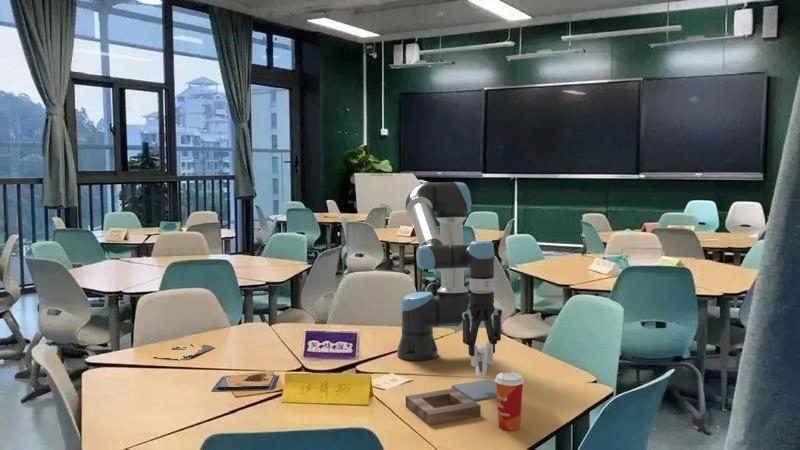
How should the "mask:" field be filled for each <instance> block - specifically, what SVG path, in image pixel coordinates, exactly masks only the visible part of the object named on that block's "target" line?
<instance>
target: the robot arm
mask: <svg viewBox="0 0 800 450" xmlns="http://www.w3.org/2000/svg"><path fill="white" fill-rule="evenodd" d="M471 196H472V195H471V192H470V190H469V187H468V185H467V184H466V183H464V182H460V181H459V182H458V181H445V182H444V181H443V182H442V181H441V182H427V181H426V182H423V183H421V184H418V185H416V186H415V187H414V188H412V189H411V191H410V192H409V194H408V196H407V198H406V200H405V211H406V213H407V215H408V216H409V218H411V221H412V225H413V228H414V231H415V235H416V238H417V242H418V245H419V246H417V248H416V254H415V256H416V257H415V259H416V265H417V267H418V269H420V270H440V287H439V288H438V289H437V290H436V291H437V292H436V293H437V295H434V294H433V293H432V292H431V291H418V292H417V291H416V292H412V293H408V294H407V295H405V296H403V298H402V299H401V306H400V311H401V337H400V340H399V344H398V346H397V351H396V353H397V354H396V355H397V357H398V358H399V359H401V360H402V359H403V360H405V361H411V362H412V361H417V362H419V361H420V362H421V361H422V362H423V361H429V360H433V359H436V358H437V357H438V356H439V355H438V346H437V344H436V340H435V338H434V330H433V329H434V328H443V327H444V328H445V327H447V328H448V327H456V328H457V327H461V326H462V344H465V345H467V346H468V356H470V365H471V366H472V367H474V368H475V367H477V346H478V345H476V342H477V338H478V337H477V336H478V332H479V328H480V325H481V322H484V327H485V331H486V335H487V338H488V339H487V340H488V341H487V342H486V344H485V345H486V346H485V347H487V348H488V349H489V350H488V358H487V365H491V366H493V365H494V354H495V353H496V344H497V343H498V342H500V341H501V339H502V323H501V322H502V321H501V320H502V319H501V318H502V314H503V310H502V309H500V308H496V307H495V306H494V305H495V292H494V290H495V253H496V252H495V247H494V243H493V242H492V241H489V240H473V241H471V242H470V243H465V244H464V228H463V227H464V225H463V224H464V221H466V219H467V218H468V217H467V216H468V215H467V214H470V213H471V211H472V197H471ZM433 214H435V217H434V215H433ZM435 219H436V220H437V221H438V223H439V227H440V228H439V229H438V226H437V223H436V220H435ZM467 268H468V269H469V289H468V288H467V287H466V286H465V270H464V269H467ZM469 290H470V291H469ZM492 316H493V318H492Z"/></svg>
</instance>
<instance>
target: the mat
mask: <svg viewBox="0 0 800 450" xmlns="http://www.w3.org/2000/svg"><path fill="white" fill-rule="evenodd" d="M452 388H454V389H456V390H457V391H459V392H460V393H462V394H464V395H465V396H467V397H468V398H470V399H471V400H473V401H474V402H476V401H481V400H488V399H494V398H497V389H496V382H495V380H492V379H490V378H489V379H482V380H476V381H469V382H464V383H458V384H457V383H456V384H451V389H452Z"/></svg>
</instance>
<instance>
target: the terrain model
mask: <svg viewBox="0 0 800 450" xmlns="http://www.w3.org/2000/svg"><path fill="white" fill-rule="evenodd" d="M190 346H192V347H194V346H193V345H192V344H191V345H190ZM212 346H213V345H209V344H208V345H207V344H203V346H201V347H202V349H201V350H198V352H197V353H195V354H194V355H189V356H186V357H185V356H183V357H184V358H182V359H180V360H182V361H183V360H184V361H187V360H188V361H190V360H192V359H194V358H197V357H200V356H201V355H204V354H205V353H208V352H210V351H212V350H215V349H216V347H215V346H214V347H212ZM183 348H186V349H187V347H183ZM183 348H180V347H176V348H172V350H186V349H183ZM180 360H179V361H180Z"/></svg>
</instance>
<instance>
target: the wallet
mask: <svg viewBox="0 0 800 450" xmlns="http://www.w3.org/2000/svg"><path fill="white" fill-rule="evenodd" d="M272 375H273V378H272V380H271V382H270V384H269V386H241V387H228V385H227V382H226V378H227V377H231V376H232V375H225V376H222V377H221V378H220V379H219V380H218V382H217V383H216V384H215V385H214V386H213V387H212V389H211V393H217V392H218V393H219V392H220V393H222V392H223V393H225V392H245V391H246V392H248V391H249V392H252V391H253V392H255V391H260V392H261V391H273V390H275V389H276V387H277V383H278V381H279V379H280V376H281V375H279V374H278V375H277V374H272Z"/></svg>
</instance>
